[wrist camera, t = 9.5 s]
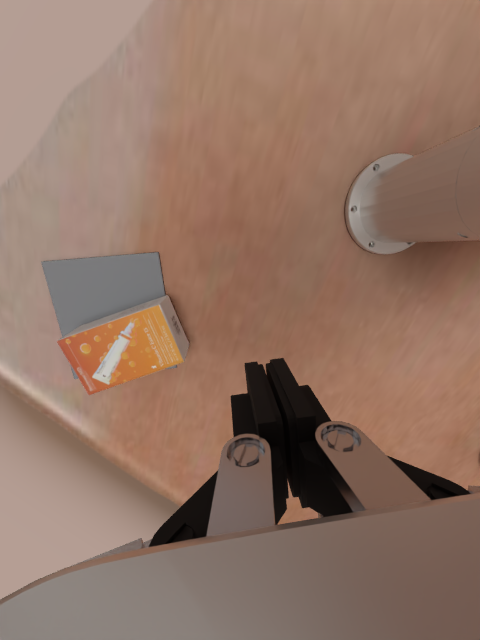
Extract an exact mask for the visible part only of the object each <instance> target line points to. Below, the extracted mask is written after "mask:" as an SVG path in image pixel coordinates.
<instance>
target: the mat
mask: <svg viewBox="0 0 480 640" xmlns="http://www.w3.org/2000/svg"><path fill="white" fill-rule="evenodd" d="M41 263H42V267H43V270H44V274H45V277H46V281H47V284H48V288H49V291H50V295H51V298H52V302H53V305H54V309H55V313H56V316H57V320H58V323H59V327H60V330H61V334H62V337H64V336H65V335H67V334H68V333H70V332H72V331H73V330H75V329H76V328H78V327H79V326H81V325H84V324H87V323H90V322H92V321H95V320H98V319H101V318H104V317H106V316H109V315H112V314H115V313H118V312H121V311H123V310H126V309H129V308H132V307H134V306H137V305H140V304H143V303H146V302H148V301H151V300H154V299H157V298H160V297H163V296H166V295H165V289H164V282H163V276H162V270H161V263H160V257H159V252H155V253H143V254H131V255H118V256H106V257H94V258H81V259H69V260H56V261H44V262H41ZM70 365H71V364H70ZM170 368H177V365H174V366H172V367H169V368H166V369H170ZM71 369H72V372H73V376H74V379H78V376H77V374H76V373H75V371H74V369H73V368H72V366H71Z"/></svg>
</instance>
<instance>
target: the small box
mask: <svg viewBox="0 0 480 640" xmlns="http://www.w3.org/2000/svg"><path fill="white" fill-rule="evenodd" d="M57 343H58V345H59V346H60V348H61V349H62V351H63V353H64V355H65V356H66V358H67V359H68V361H69V363H70V364H71V366H72V368H73V369H74V371H75V373H76V374H77V376H78V378H79V379H80V381H81V383H82V384H83V386H84V388H85V389H86V391H87V393H88V395H91V394H94V393H97V392H100V391H103V390H106V389H108V388H111V387H114V386H117V385H120V384H123V383H126V382H129V381H131V380H134V379H137V378H140V377H143V376H146V375H149V374H152V373H155V372H158V371H160V370H163V369H166V368H169V367H172V366H174V365H177V364H180V363H183V362H184V361H185V358H186V355H187V351H188V348H189V342H188V340H187V337H186V335H185V333H184V331H183V328H182V326H181V324H180V321H179V319H178V317H177V315H176V312H175V310H174V308H173V305H172V303H171V300H170V298H169V296H168V295H166V296H163V297H160V298H157V299H154V300H151V301H148V302H146V303H143V304H140V305H137V306H134V307H132V308H129V309H126V310H123V311H121V312H118V313H115V314H112V315H109V316H106V317H104V318H101V319H98V320H95V321H92V322H90V323H87V324H84V325H81V326H79V327H78V328H76V329H75V330H73V331H72V332H70V333H68V334H67V335H65V336H64V337H62V338H60V339H59V340H57Z"/></svg>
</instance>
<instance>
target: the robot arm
mask: <svg viewBox="0 0 480 640" xmlns="http://www.w3.org/2000/svg"><path fill="white" fill-rule="evenodd" d="M373 168H374V170H373ZM351 208H352V211H351ZM345 218H346V224H347V227H348V231H349V233H350V235H351V236H352V238H353V239H354V241H355V242H356V243H357V244H358V245H359V246H360V247H362V248H363V249H365V250H367V251H369V252H371V253H376V254H394V253H397V252H401V251H403V250H405V249H407V248H409V247H411V246H412V245H413V244H415V243H416V242H441V241H478V240H480V126H478V127H476V128H474V129H471V130H469V131H467V132H465V133H463V134H461V135H459V136H456V137H454V138H452V139H450V140H448V141H446V142H444V143H441V144H439V145H437V146H435V147H433V148H431V149H429V150H426V151H424V152H422V153H420V154H418V155H416V156H413V155H409V154H405V153H395V154H389V155H386V156H384V157H381V158H379V159H377V160H375V161H374V162H372V163H371V164H369V165H368V166H367V167H365V168H364V169H363V170H362V171H361V173H360V174H359V175H358V176H357V177H356V179H355V181H354V182H353V184H352V186H351V188H350V190H349V193H348V196H347V200H346V206H345ZM245 373H246V381H247V390H248V393H246V394H239V395H232V396H231V407H232V420H233V434H234V437H233V438H232V439H230V440H229V441H228V442H227V443H226V444H225V445H224V447H223V450H222V453H221V458H220V464H219V469H218V471H217V472H216V473H215V474H214V475H213V476H212V477H211V478H210V479H209V480H208V481H207V482H206V483H205V484H204V485H203V486H202V487H201V488H200V489H199V490H198V491H197V492H196V493H195V494H194V495H193V496H192V497H191V498H189V499H188V500H187V501H186V502H185V503H184V504H183V505H182V506H181V507H180V508H179V509H178V510H177V511H176V512H175V513H174V514H173V515H172V516H171V517H170V518H169V519H168V520H167V521H166V522H165V523H164V524H163V525H162V526H161V527H160V528H159V530H158V531H157V532H156V534H155V535H154V537H153V539H151V540H149V541H146V542H144V543H143V541H142V538H140V539H138V540H135V541H133V542H130V543H128V544H125V545H123V546H120V547H118V548H115V549H113V550H110V551H108V552H105V553H103V554H100V555H98V556H95V557H93V558H90V559H88V560H85V561H83V562H80V563H78V564H75V565H73V566H70V567H67V568H64V569H62V570H60V571H57V572H55V573H52V574H50V575H48V576H45V577H43V578H40V579H38V580H36V581H34V582H32V583H30V584H28V585H26V586H25V587H23V588H21V589H19V590H17V591H15V592H13V593H12V594H10V595H8V596H6V597H4V598H2V599H1V600H0V640H480V486H468V490H466V489H464V488H463V487H461V486H460V485H458V484H456V483H454V482H452V481H450V480H447V479H445V478H442V477H440V476H437V475H434V474H432V473H429V472H427V471H424V470H422V469H419V468H417V467H414V466H412V465H409V464H407V463H404V462H402V461H399V460H397V459H394V458H392V457H389V456H387V455H385V454H384V453H383V452H382V451H381V450H380V449H379V448H378V447H377V446H376V445H375V444H374V443H373V442H372V441H371V440H370V439H369V438H368V437H367V436H366V435H365V434H364V433H363V432H362V431H361V430H360V429H358V428H357V427H356V426H353V425H351V424H349V423H346V422H342V421H331V420H330V418H329V417H328V415H327V413H326V412H325V410H324V409H323V407H322V406H321V404H320V402H319V401H318V399H317V398H316V396H315V395H314V393H313V391H312V390H311V388H310V387H309V386H308V385H304V386H299V385H298V383H297V382H296V380H295V378H294V376H293V375H292V373H291V371H290V369H289V368H288V366H287V364H286V362H285V360H284V359H283V358H280V359H272V360H270V363H268V364H266V373H267V375H266V373H265V370H264V367H263V365H262V364H260V365H258V363H257V362H250V363H245ZM287 479H288V482H289V485H290V489H291V492H292V495H293V497H299V499H300V503H301V506H302V508H307V507H310V508H311V509H313V510H315V511H316V512H318V518H316V519H310V520H304V521H298V522H292V523H286V524H280V525H278V524H277V523H278V522H279V520H280V519H281V517H282V516H283V514H284V513H285V511H286V510H287V505H286V498H289V495H288V482H287Z"/></svg>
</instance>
